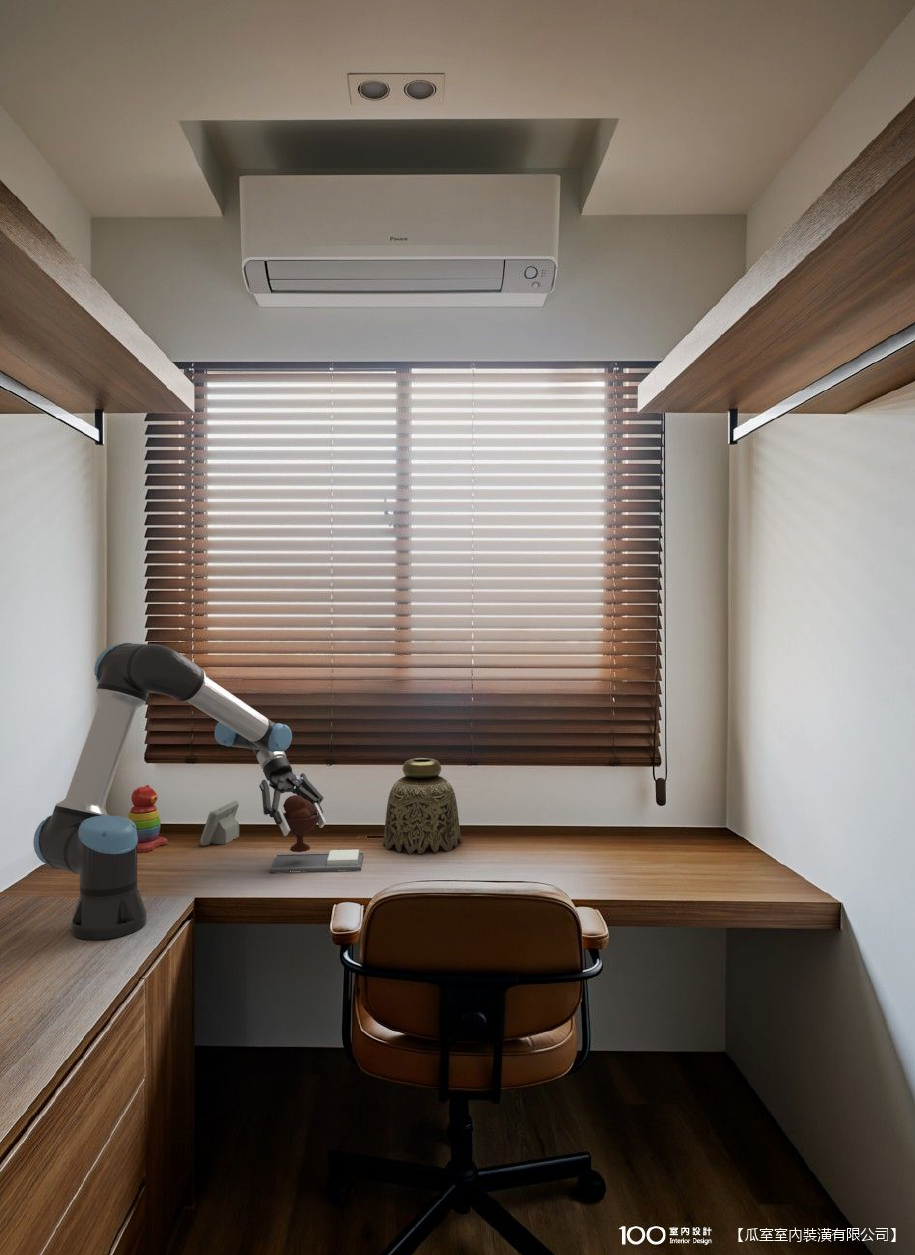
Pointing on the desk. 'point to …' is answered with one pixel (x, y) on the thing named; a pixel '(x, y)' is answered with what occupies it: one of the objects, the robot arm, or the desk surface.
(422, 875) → the desk surface
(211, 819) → the digital clock
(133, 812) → the stacking bear
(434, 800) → the lamp shade
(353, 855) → the pale green flat block
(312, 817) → the ice cream bowl
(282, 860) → the tray
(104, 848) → the robot arm
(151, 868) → the desk surface
